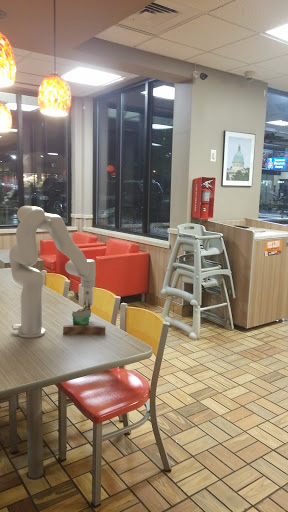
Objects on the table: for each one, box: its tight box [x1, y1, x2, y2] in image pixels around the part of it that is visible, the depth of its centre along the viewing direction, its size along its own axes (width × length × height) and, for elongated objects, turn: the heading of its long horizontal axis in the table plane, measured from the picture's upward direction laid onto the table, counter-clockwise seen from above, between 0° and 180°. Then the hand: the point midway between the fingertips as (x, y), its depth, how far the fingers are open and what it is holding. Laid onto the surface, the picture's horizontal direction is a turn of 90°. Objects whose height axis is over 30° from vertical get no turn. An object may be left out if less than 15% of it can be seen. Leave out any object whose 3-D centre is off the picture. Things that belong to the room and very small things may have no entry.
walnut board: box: [62, 324, 106, 336], centre depth 188 cm, size 20×2×4 cm, turn 95°
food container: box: [71, 305, 92, 325], centre depth 195 cm, size 12×6×10 cm, turn 156°
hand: (87, 316), depth 208 cm, fingers closed
